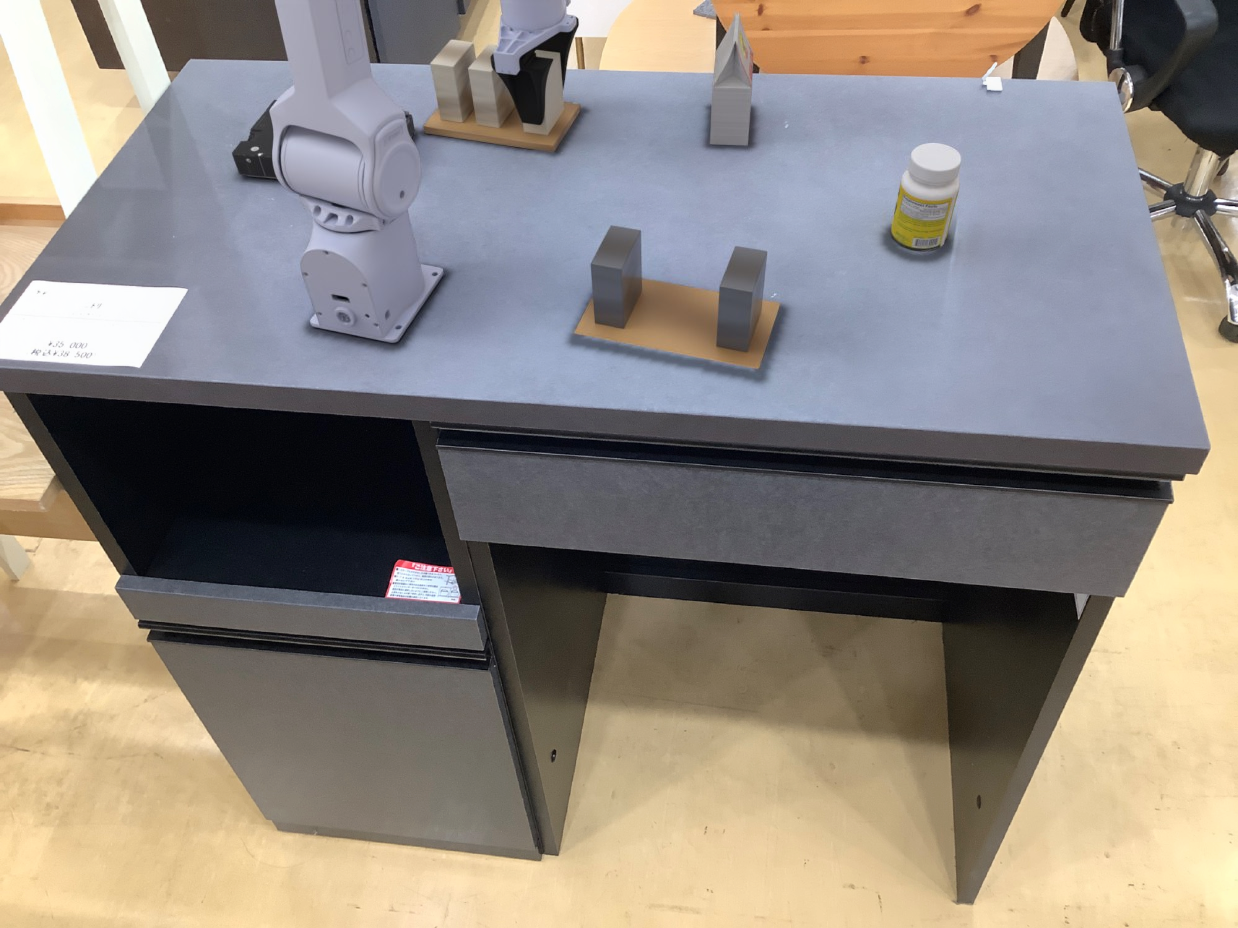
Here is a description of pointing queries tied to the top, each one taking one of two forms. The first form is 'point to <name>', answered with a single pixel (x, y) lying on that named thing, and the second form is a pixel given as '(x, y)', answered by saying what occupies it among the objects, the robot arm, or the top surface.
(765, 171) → the top surface
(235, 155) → the disk drive
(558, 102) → the beige block
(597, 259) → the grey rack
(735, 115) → the gable top juice carton
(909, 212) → the supplement bottle
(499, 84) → the cream rack
